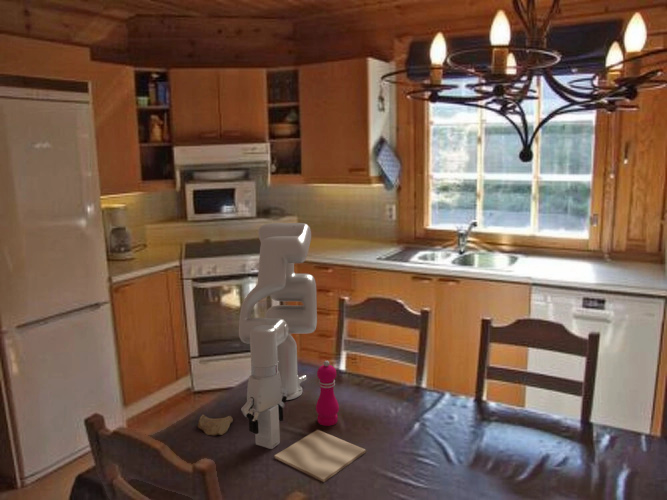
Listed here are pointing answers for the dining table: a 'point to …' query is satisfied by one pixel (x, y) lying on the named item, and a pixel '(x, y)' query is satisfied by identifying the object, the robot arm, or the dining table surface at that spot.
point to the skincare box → (268, 428)
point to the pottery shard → (214, 425)
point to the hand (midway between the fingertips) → (266, 425)
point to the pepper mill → (327, 396)
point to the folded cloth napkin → (320, 455)
